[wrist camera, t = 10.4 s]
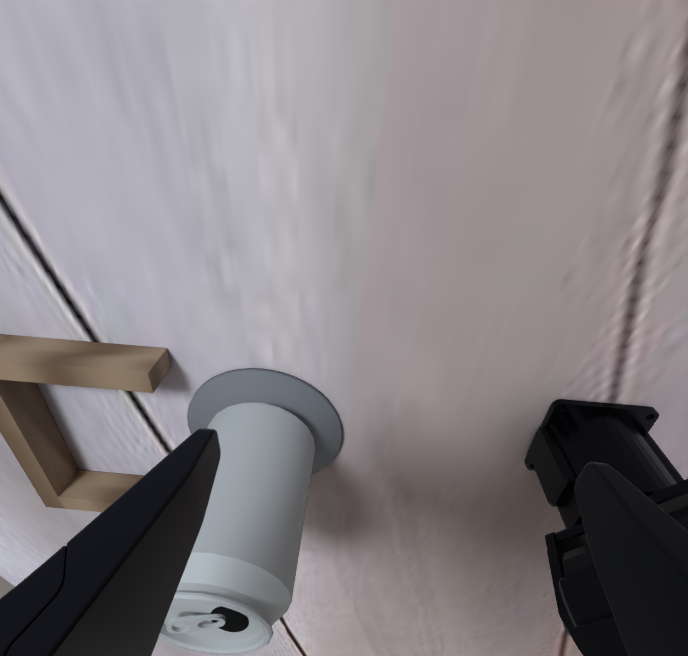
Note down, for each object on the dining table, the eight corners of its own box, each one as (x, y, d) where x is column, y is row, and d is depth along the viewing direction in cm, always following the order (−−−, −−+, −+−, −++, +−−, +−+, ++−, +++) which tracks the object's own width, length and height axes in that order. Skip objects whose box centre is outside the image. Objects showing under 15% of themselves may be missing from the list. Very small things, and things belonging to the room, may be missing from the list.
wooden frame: (166, 348, 25) (147, 373, 23) (200, 491, 33) (188, 520, 31) (-11, 333, 25) (-46, 356, 23) (66, 479, 33) (46, 506, 31)
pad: (346, 375, 25) (346, 379, 25) (337, 482, 31) (337, 486, 31) (177, 361, 25) (174, 365, 25) (201, 469, 31) (199, 473, 31)
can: (312, 472, 30) (281, 672, 20) (214, 459, 30) (134, 654, 20) (321, 401, 26) (289, 608, 16) (208, 385, 26) (104, 584, 16)
